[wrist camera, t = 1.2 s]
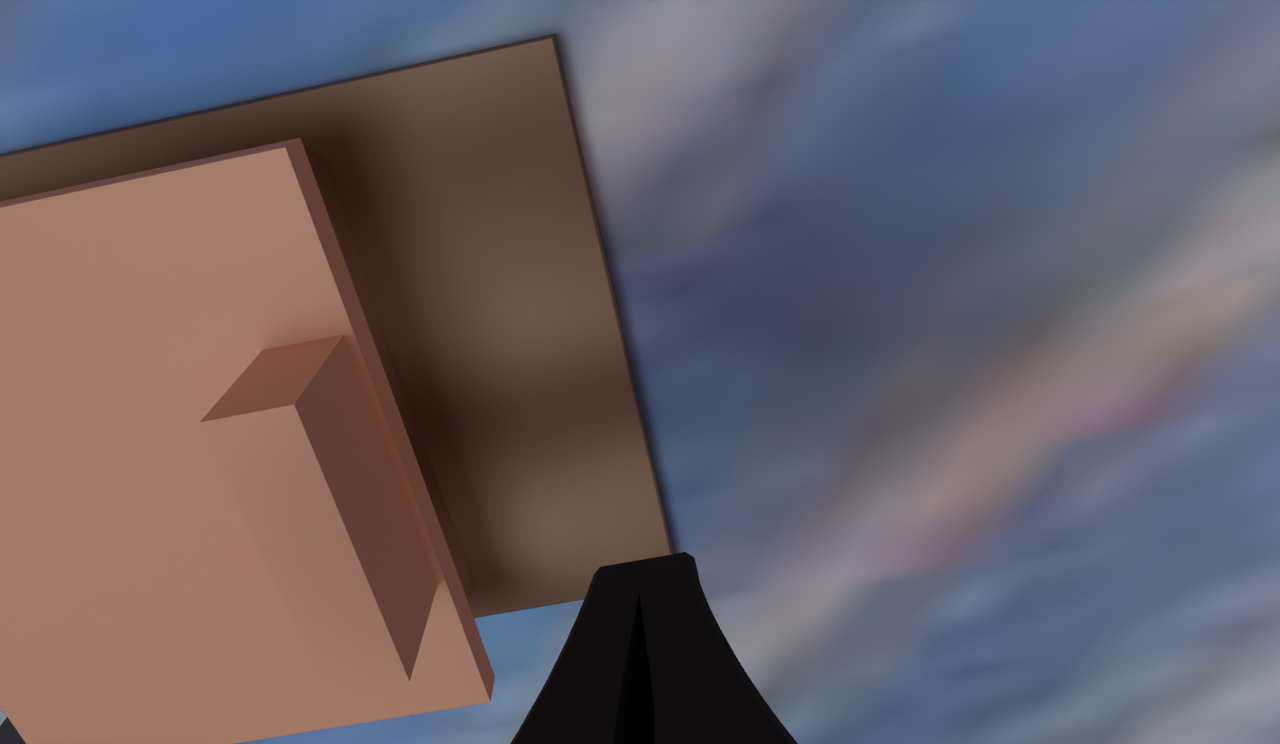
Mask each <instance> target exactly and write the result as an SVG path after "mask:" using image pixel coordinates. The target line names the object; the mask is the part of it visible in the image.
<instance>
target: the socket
mask: <svg viewBox="0 0 1280 744" xmlns="http://www.w3.org/2000/svg"><path fill="white" fill-rule="evenodd" d="M297 138H301V141H302V143H303V146H304V149H305V152H306V155H307V157H308V160H309V163H310V166H311V168H312V171H313V174H314V177H315V180H316V182H317V185H318V188H319V191H320V193H321V196H322V199H323V202H324V205H325V207H326V210H327V213H328V216H329V218H330V221H331V224H332V227H333V229H334V232H335V235H336V238H337V241H338V243H339V246H340V249H341V252H342V254H343V257H344V260H345V263H346V266H347V268H348V271H349V274H350V277H351V279H352V282H353V285H354V288H355V290H356V293H357V296H358V299H359V302H360V304H361V307H362V310H363V313H364V315H365V318H366V321H367V324H368V327H369V329H370V332H371V335H372V338H373V340H374V343H375V346H376V349H377V352H378V354H379V357H380V360H381V363H382V365H383V368H384V371H385V374H386V376H387V379H388V382H389V385H390V388H391V390H392V393H393V396H394V399H395V401H396V404H397V407H398V410H399V413H400V415H401V418H402V421H403V424H404V426H405V429H406V432H407V435H408V438H409V440H410V443H411V446H412V449H413V451H414V454H415V457H416V460H417V462H418V465H419V468H420V471H421V474H422V476H423V479H424V482H425V485H426V487H427V490H428V493H429V496H430V499H431V501H432V504H433V507H434V510H435V512H436V515H437V518H438V521H439V524H440V526H441V529H442V532H443V535H444V537H445V540H446V543H447V546H448V548H449V551H450V554H451V557H452V560H453V562H454V565H455V568H456V571H457V573H458V576H459V579H460V582H461V585H462V587H463V590H464V593H465V596H466V598H467V601H468V604H469V607H470V609H471V612H472V615H473V618H477V617H483V616H489V615H495V614H501V613H507V612H513V611H519V610H524V609H530V608H536V607H542V606H548V605H554V604H560V603H566V602H572V601H578V600H583V599H585V597H586V594H587V592H588V589H589V587H590V584H591V581H592V578H593V575H594V574H595V572H596V571H597V570H598V569H599V567H602V566H608V565H614V564H619V563H625V562H631V561H637V560H643V559H648V558H654V557H660V556H666V555H672V554H673V551H672V546H671V542H670V537H669V533H668V529H667V524H666V520H665V516H664V511H663V507H662V502H661V498H660V494H659V489H658V485H657V481H656V476H655V472H654V467H653V463H652V459H651V454H650V450H649V446H648V441H647V437H646V432H645V428H644V424H643V419H642V415H641V411H640V406H639V402H638V397H637V393H636V389H635V384H634V380H633V376H632V371H631V367H630V362H629V358H628V354H627V349H626V345H625V341H624V336H623V332H622V327H621V323H620V319H619V314H618V310H617V305H616V301H615V297H614V292H613V288H612V284H611V279H610V275H609V270H608V266H607V262H606V257H605V253H604V249H603V244H602V240H601V235H600V231H599V227H598V222H597V218H596V214H595V209H594V205H593V200H592V196H591V192H590V187H589V183H588V179H587V174H586V170H585V165H584V161H583V157H582V152H581V148H580V144H579V139H578V135H577V130H576V126H575V122H574V117H573V113H572V109H571V104H570V100H569V95H568V91H567V87H566V82H565V78H564V74H563V69H562V65H561V60H560V56H559V52H558V47H557V43H556V39H555V34H553V35H549V36H544V37H539V38H535V39H530V40H526V41H521V42H516V43H512V44H507V45H503V46H498V47H493V48H489V49H484V50H480V51H475V52H470V53H466V54H461V55H456V56H452V57H447V58H443V59H438V60H433V61H429V62H424V63H420V64H415V65H410V66H406V67H401V68H397V69H392V70H387V71H383V72H378V73H374V74H369V75H364V76H360V77H355V78H351V79H346V80H341V81H337V82H332V83H327V84H323V85H318V86H314V87H309V88H304V89H300V90H295V91H291V92H286V93H281V94H277V95H272V96H268V97H263V98H258V99H254V100H249V101H245V102H240V103H235V104H231V105H226V106H221V107H217V108H212V109H208V110H203V111H198V112H194V113H189V114H185V115H180V116H175V117H171V118H166V119H162V120H157V121H152V122H148V123H143V124H139V125H134V126H129V127H125V128H120V129H115V130H111V131H106V132H102V133H97V134H92V135H88V136H83V137H79V138H74V139H69V140H65V141H60V142H56V143H51V144H46V145H42V146H37V147H33V148H28V149H23V150H19V151H14V152H9V153H5V154H0V202H1V201H6V200H10V199H15V198H20V197H24V196H29V195H34V194H38V193H43V192H48V191H52V190H57V189H62V188H67V187H71V186H76V185H81V184H85V183H90V182H95V181H99V180H104V179H109V178H114V177H118V176H123V175H128V174H132V173H137V172H142V171H146V170H151V169H156V168H161V167H165V166H170V165H175V164H179V163H184V162H189V161H193V160H198V159H203V158H207V157H212V156H217V155H222V154H226V153H231V152H236V151H240V150H245V149H250V148H254V147H259V146H264V145H269V144H273V143H278V142H283V141H287V140H292V139H297Z"/></svg>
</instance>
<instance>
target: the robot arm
mask: <svg viewBox="0 0 1280 744" xmlns="http://www.w3.org/2000/svg"><path fill="white" fill-rule="evenodd" d="M511 744H797V742H796V741H795V740H794V738H793V737H792V736H791V735H790V733H789V732H788V731H787V730H786V728H785V727H784V726H783V725H782V723H781V722H780V721H779V719H778V718H777V717H776V715H775V714H774V713H773V711H772V710H771V709H770V707H769V706H768V704H767V703H766V702H765V700H764V699H763V697H762V696H761V694H760V693H759V691H758V690H757V689H756V687H755V686H754V684H753V683H752V681H751V680H750V678H749V677H748V675H747V674H746V672H745V670H744V669H743V667H742V666H741V664H740V662H739V661H738V659H737V658H736V656H735V654H734V652H733V650H732V649H731V647H730V645H729V643H728V642H727V640H726V638H725V636H724V635H723V633H722V631H721V629H720V627H719V625H718V623H717V621H716V619H715V617H714V616H713V613H712V611H711V609H710V607H709V604H708V602H707V600H706V598H705V595H704V593H703V590H702V588H701V585H700V581H699V576H698V572H697V567H696V562H695V558H694V557H692V556H691V555H689V554H687V553H686V552H683V553H677V554H672V555H666V556H660V557H654V558H648V559H643V560H637V561H631V562H625V563H619V564H614V565H608V566H602V567H599V569H598V570H597V571H596V572H595V574H594V575H593V578H592V581H591V584H590V587H589V589H588V592H587V594H586V597H585V599H584V602H583V604H582V607H581V609H580V612H579V614H578V616H577V619H576V621H575V623H574V625H573V628H572V630H571V632H570V634H569V637H568V639H567V641H566V643H565V645H564V647H563V649H562V651H561V653H560V655H559V657H558V659H557V661H556V663H555V665H554V667H553V669H552V671H551V673H550V675H549V677H548V679H547V681H546V683H545V685H544V687H543V689H542V690H541V692H540V694H539V696H538V697H537V699H536V701H535V703H534V705H533V706H532V708H531V710H530V712H529V713H528V715H527V717H526V719H525V720H524V722H523V724H522V726H521V727H520V729H519V731H518V732H517V734H516V736H515V737H514V739H513V740H512V742H511Z"/></svg>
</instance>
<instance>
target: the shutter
mask: <svg viewBox="0 0 1280 744" xmlns="http://www.w3.org/2000/svg"><path fill="white" fill-rule="evenodd" d="M494 678H495V676H494V673H493V671H492V668H491V665H490V662H489V659H488V657H487V654H486V651H485V648H484V646H483V643H482V640H481V637H480V634H479V632H478V629H477V626H476V623H475V621H474V618H473V615H472V612H471V609H470V607H469V604H468V601H467V598H466V596H465V593H464V590H463V587H462V585H461V582H460V579H459V576H458V573H457V571H456V568H455V565H454V562H453V560H452V557H451V554H450V551H449V548H448V546H447V543H446V540H445V537H444V535H443V532H442V529H441V526H440V524H439V521H438V518H437V515H436V512H435V510H434V507H433V504H432V501H431V499H430V496H429V493H428V490H427V487H426V485H425V482H424V479H423V476H422V474H421V471H420V468H419V465H418V462H417V460H416V457H415V454H414V451H413V449H412V446H411V443H410V440H409V438H408V435H407V432H406V429H405V426H404V424H403V421H402V418H401V415H400V413H399V410H398V407H397V404H396V401H395V399H394V396H393V393H392V390H391V388H390V385H389V382H388V379H387V376H386V374H385V371H384V368H383V365H382V363H381V360H380V357H379V354H378V352H377V349H376V346H375V343H374V340H373V338H372V335H371V332H370V329H369V327H368V324H367V321H366V318H365V315H364V313H363V310H362V307H361V304H360V302H359V299H358V296H357V293H356V290H355V288H354V285H353V282H352V279H351V277H350V274H349V271H348V268H347V266H346V263H345V260H344V257H343V254H342V252H341V249H340V246H339V243H338V241H337V238H336V235H335V232H334V229H333V227H332V224H331V221H330V218H329V216H328V213H327V210H326V207H325V205H324V202H323V199H322V196H321V193H320V191H319V188H318V185H317V182H316V180H315V177H314V174H313V171H312V168H311V166H310V163H309V160H308V157H307V155H306V152H305V149H304V146H303V143H302V141H301V138H297V139H292V140H287V141H283V142H278V143H273V144H269V145H264V146H259V147H254V148H250V149H245V150H240V151H236V152H231V153H226V154H222V155H217V156H212V157H207V158H203V159H198V160H193V161H189V162H184V163H179V164H175V165H170V166H165V167H161V168H156V169H151V170H146V171H142V172H137V173H132V174H128V175H123V176H118V177H114V178H109V179H104V180H99V181H95V182H90V183H85V184H81V185H76V186H71V187H67V188H62V189H57V190H52V191H48V192H43V193H38V194H34V195H29V196H24V197H20V198H15V199H10V200H6V201H1V202H0V707H1V708H2V709H3V711H4V712H5V714H6V715H7V717H8V718H9V720H10V721H11V723H12V724H13V725H14V727H15V728H16V730H17V731H18V733H19V734H20V736H21V737H22V738H23V740H24V741H25V743H26V744H235V743H242V742H248V741H254V740H260V739H266V738H272V737H279V736H285V735H291V734H297V733H303V732H309V731H316V730H322V729H328V728H334V727H340V726H346V725H352V724H359V723H365V722H371V721H377V720H383V719H389V718H396V717H402V716H408V715H414V714H420V713H426V712H433V711H439V710H445V709H451V708H457V707H463V706H470V705H476V704H482V703H488V702H490V701H491V695H492V689H493V684H494Z"/></svg>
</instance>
